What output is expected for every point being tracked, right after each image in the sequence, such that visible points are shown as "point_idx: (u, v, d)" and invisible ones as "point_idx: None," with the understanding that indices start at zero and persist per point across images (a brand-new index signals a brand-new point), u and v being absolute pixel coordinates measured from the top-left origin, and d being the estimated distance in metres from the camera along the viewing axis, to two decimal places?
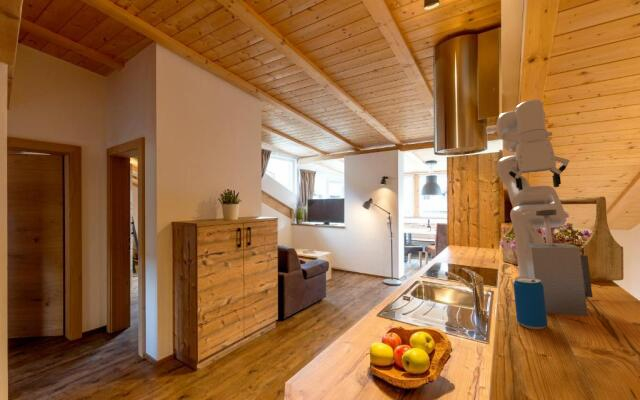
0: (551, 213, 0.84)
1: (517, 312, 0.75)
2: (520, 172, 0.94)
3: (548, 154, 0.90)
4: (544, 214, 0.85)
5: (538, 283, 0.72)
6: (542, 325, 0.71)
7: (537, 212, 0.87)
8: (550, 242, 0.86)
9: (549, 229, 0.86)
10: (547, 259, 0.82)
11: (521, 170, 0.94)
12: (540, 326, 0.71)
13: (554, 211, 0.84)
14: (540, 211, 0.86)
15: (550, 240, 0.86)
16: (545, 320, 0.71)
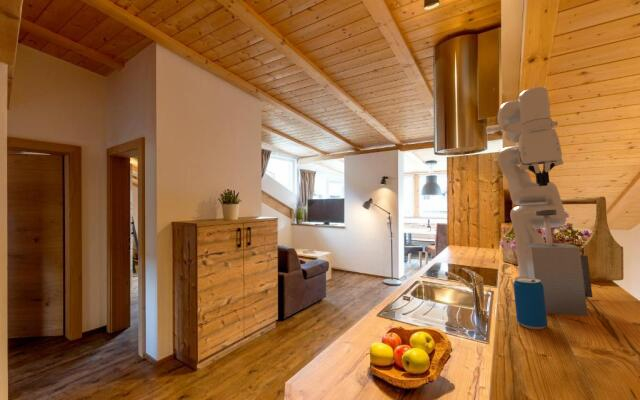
0: (551, 213, 0.84)
1: (517, 312, 0.75)
2: (536, 166, 0.87)
3: (553, 145, 0.84)
4: (544, 214, 0.85)
5: (538, 283, 0.72)
6: (542, 325, 0.71)
7: (537, 212, 0.87)
8: (550, 242, 0.86)
9: (549, 229, 0.86)
10: (547, 259, 0.82)
11: (524, 162, 0.88)
12: (540, 326, 0.71)
13: (554, 211, 0.84)
14: (540, 211, 0.86)
15: (550, 240, 0.86)
16: (545, 320, 0.71)
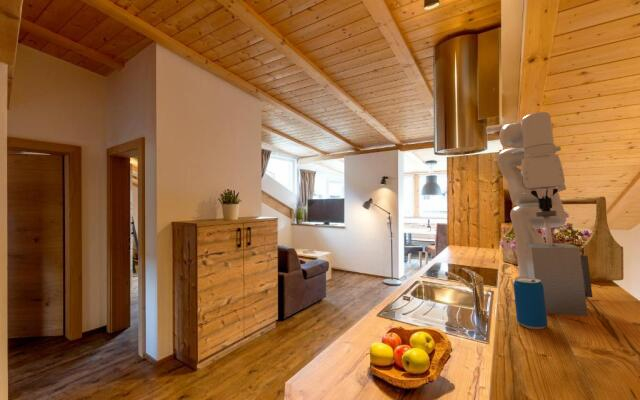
0: (551, 214, 0.84)
1: (517, 312, 0.75)
2: (538, 191, 0.87)
3: (556, 171, 0.84)
4: (544, 215, 0.85)
5: (538, 283, 0.72)
6: (542, 325, 0.71)
7: (537, 213, 0.87)
8: (550, 243, 0.86)
9: (549, 230, 0.86)
10: (547, 259, 0.82)
11: (527, 187, 0.88)
12: (540, 326, 0.71)
13: (554, 212, 0.84)
14: (540, 212, 0.86)
15: (550, 241, 0.86)
16: (545, 320, 0.71)
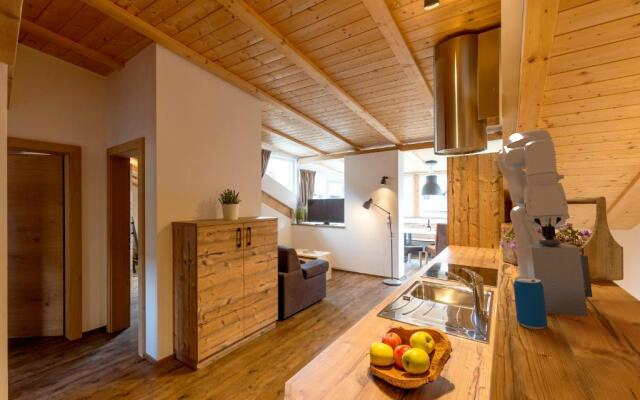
0: (554, 243, 0.84)
1: (517, 312, 0.75)
2: (541, 219, 0.86)
3: (560, 199, 0.83)
4: (547, 244, 0.85)
5: (538, 283, 0.72)
6: (542, 325, 0.71)
7: (540, 241, 0.86)
8: None
9: None
10: (547, 259, 0.82)
11: (530, 215, 0.87)
12: (540, 326, 0.71)
13: (557, 241, 0.84)
14: (544, 241, 0.85)
15: None
16: (545, 320, 0.71)
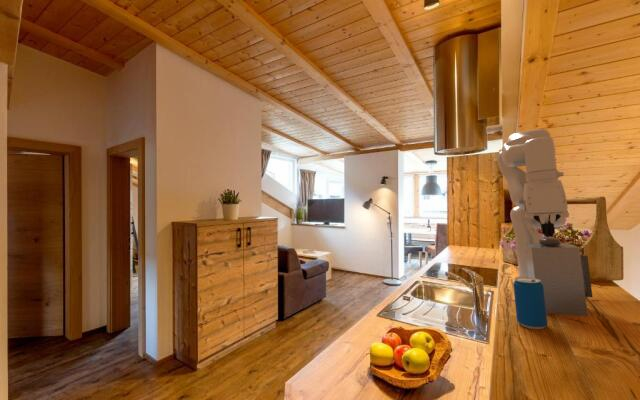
0: (554, 243, 0.84)
1: (517, 312, 0.75)
2: (541, 216, 0.86)
3: (559, 197, 0.84)
4: (547, 244, 0.85)
5: (538, 283, 0.72)
6: (542, 325, 0.71)
7: (540, 241, 0.86)
8: None
9: None
10: (547, 259, 0.82)
11: (530, 212, 0.87)
12: (540, 326, 0.71)
13: (557, 241, 0.84)
14: (544, 241, 0.85)
15: None
16: (545, 320, 0.71)
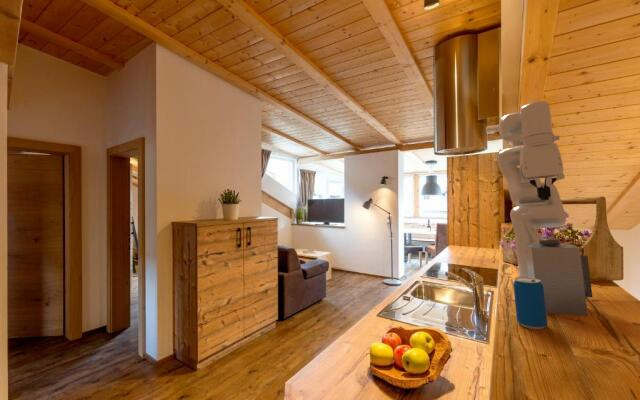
0: (554, 243, 0.84)
1: (517, 312, 0.75)
2: (537, 180, 0.87)
3: (555, 159, 0.84)
4: (547, 244, 0.85)
5: (538, 283, 0.72)
6: (542, 325, 0.71)
7: (540, 241, 0.86)
8: None
9: None
10: (547, 259, 0.82)
11: (526, 176, 0.88)
12: (540, 326, 0.71)
13: (557, 241, 0.84)
14: (544, 241, 0.85)
15: None
16: (545, 320, 0.71)
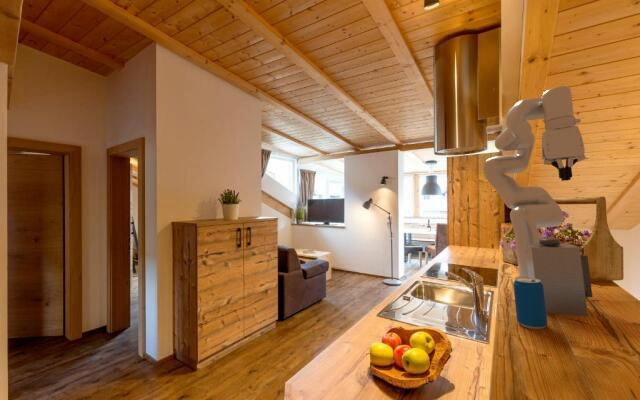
0: (554, 243, 0.84)
1: (517, 312, 0.75)
2: (559, 161, 0.92)
3: (577, 141, 0.89)
4: (547, 244, 0.85)
5: (538, 283, 0.72)
6: (542, 325, 0.71)
7: (540, 241, 0.86)
8: None
9: None
10: (547, 259, 0.82)
11: (548, 158, 0.93)
12: (540, 326, 0.71)
13: (557, 241, 0.84)
14: (544, 241, 0.85)
15: None
16: (545, 320, 0.71)
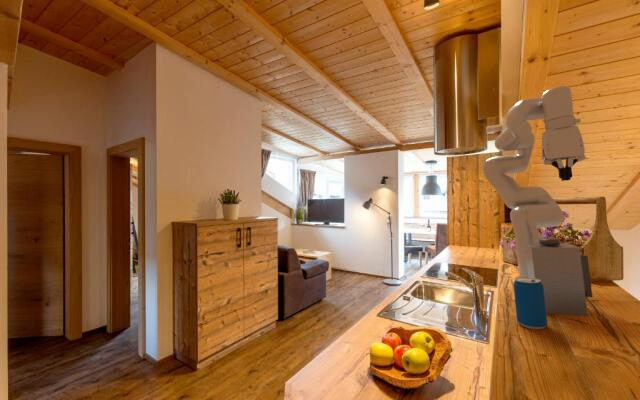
0: (554, 243, 0.84)
1: (517, 312, 0.75)
2: (559, 161, 0.92)
3: (577, 141, 0.89)
4: (547, 244, 0.85)
5: (538, 283, 0.72)
6: (542, 325, 0.71)
7: (540, 241, 0.86)
8: None
9: None
10: (547, 259, 0.82)
11: (548, 158, 0.93)
12: (540, 326, 0.71)
13: (557, 241, 0.84)
14: (544, 241, 0.85)
15: None
16: (545, 320, 0.71)
